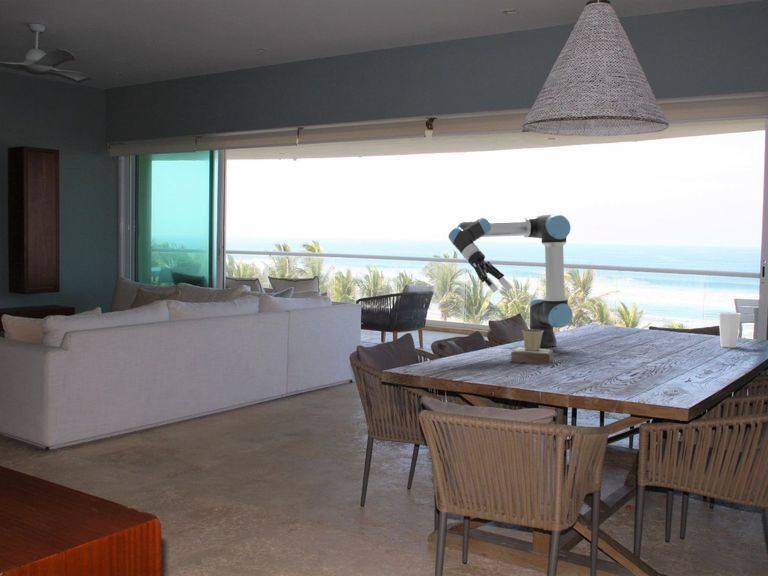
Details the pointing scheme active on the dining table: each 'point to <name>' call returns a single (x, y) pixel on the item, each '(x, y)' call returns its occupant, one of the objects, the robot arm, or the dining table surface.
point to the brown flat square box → (532, 356)
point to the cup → (729, 328)
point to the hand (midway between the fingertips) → (503, 289)
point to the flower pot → (532, 339)
